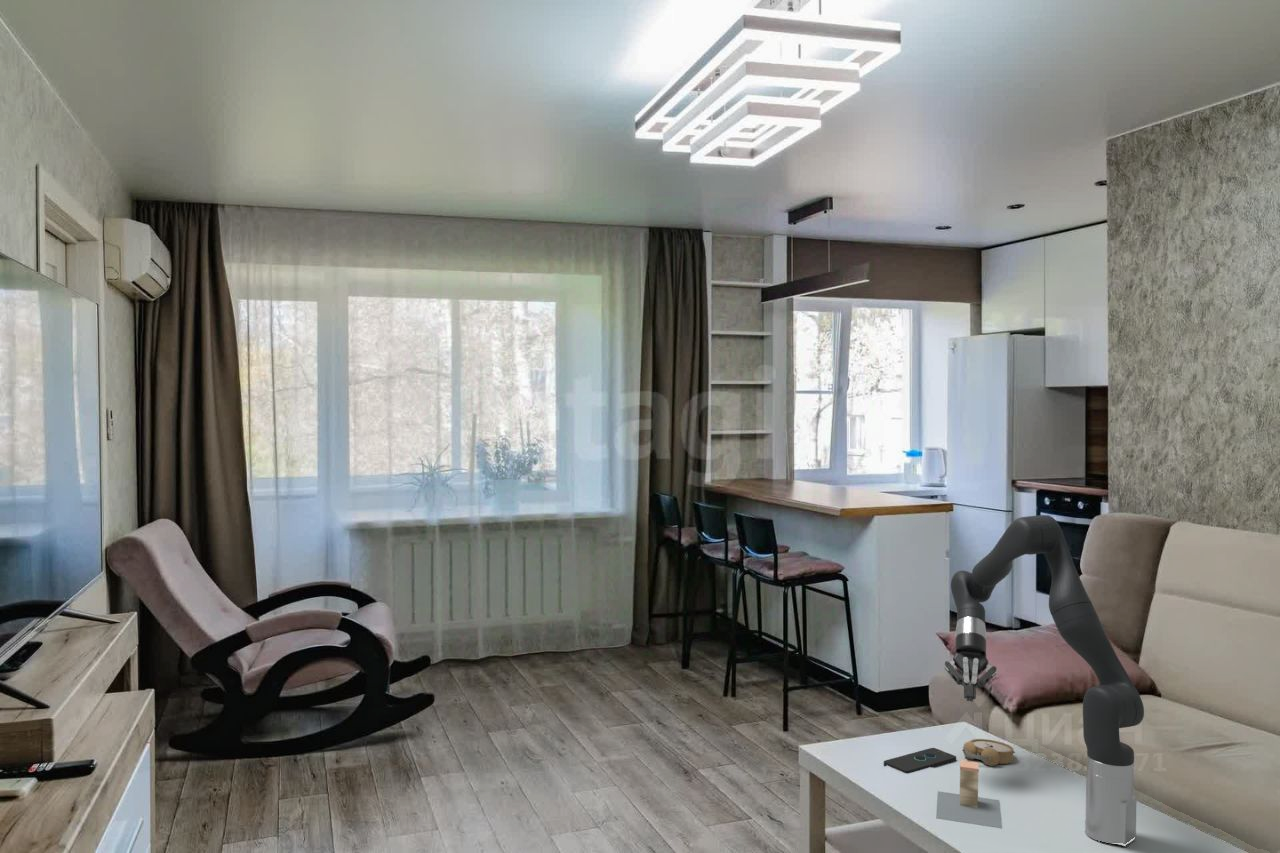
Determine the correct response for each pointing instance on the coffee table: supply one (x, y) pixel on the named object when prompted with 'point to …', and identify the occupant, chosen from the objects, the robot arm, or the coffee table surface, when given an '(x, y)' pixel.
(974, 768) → the birch block
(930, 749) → the smart home device
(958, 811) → the rubber mat
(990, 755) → the alarm clock
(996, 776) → the coffee table surface
